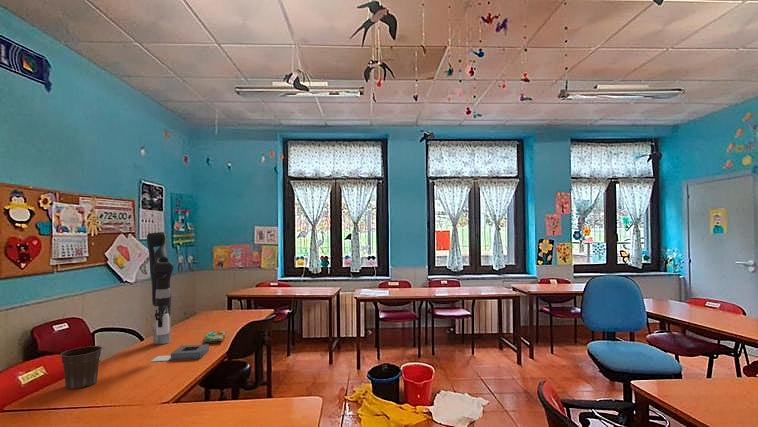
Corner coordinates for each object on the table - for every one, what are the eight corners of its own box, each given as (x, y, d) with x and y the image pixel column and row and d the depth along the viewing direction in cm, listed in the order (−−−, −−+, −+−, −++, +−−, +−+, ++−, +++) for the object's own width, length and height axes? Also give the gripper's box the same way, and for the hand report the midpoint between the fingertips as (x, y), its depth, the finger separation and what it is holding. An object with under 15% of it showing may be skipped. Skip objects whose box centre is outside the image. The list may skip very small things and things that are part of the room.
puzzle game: (226, 329, 277) (221, 337, 258) (226, 336, 277) (221, 344, 258) (208, 331, 275) (202, 338, 255) (208, 338, 274) (202, 345, 255)
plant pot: (52, 393, 181) (52, 357, 182) (69, 380, 196) (70, 347, 197) (93, 388, 185) (94, 353, 186) (107, 376, 201) (107, 344, 201)
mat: (150, 362, 223) (150, 361, 223) (157, 357, 232) (157, 356, 232) (167, 361, 224) (167, 360, 224) (173, 356, 233) (173, 355, 233)
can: (154, 334, 228) (154, 313, 229) (166, 332, 233) (166, 311, 234) (158, 336, 224) (159, 314, 225) (170, 333, 229) (171, 312, 230)
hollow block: (170, 360, 225) (170, 353, 225) (181, 352, 241) (181, 345, 241) (200, 359, 227) (200, 352, 227) (208, 350, 243) (208, 344, 243)
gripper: (161, 294, 237) (161, 323, 236) (150, 298, 222) (150, 329, 222) (174, 294, 237) (174, 322, 237) (164, 298, 223) (164, 328, 222)
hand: (162, 325), depth 229 cm, fingers closed on can, 6 cm apart
